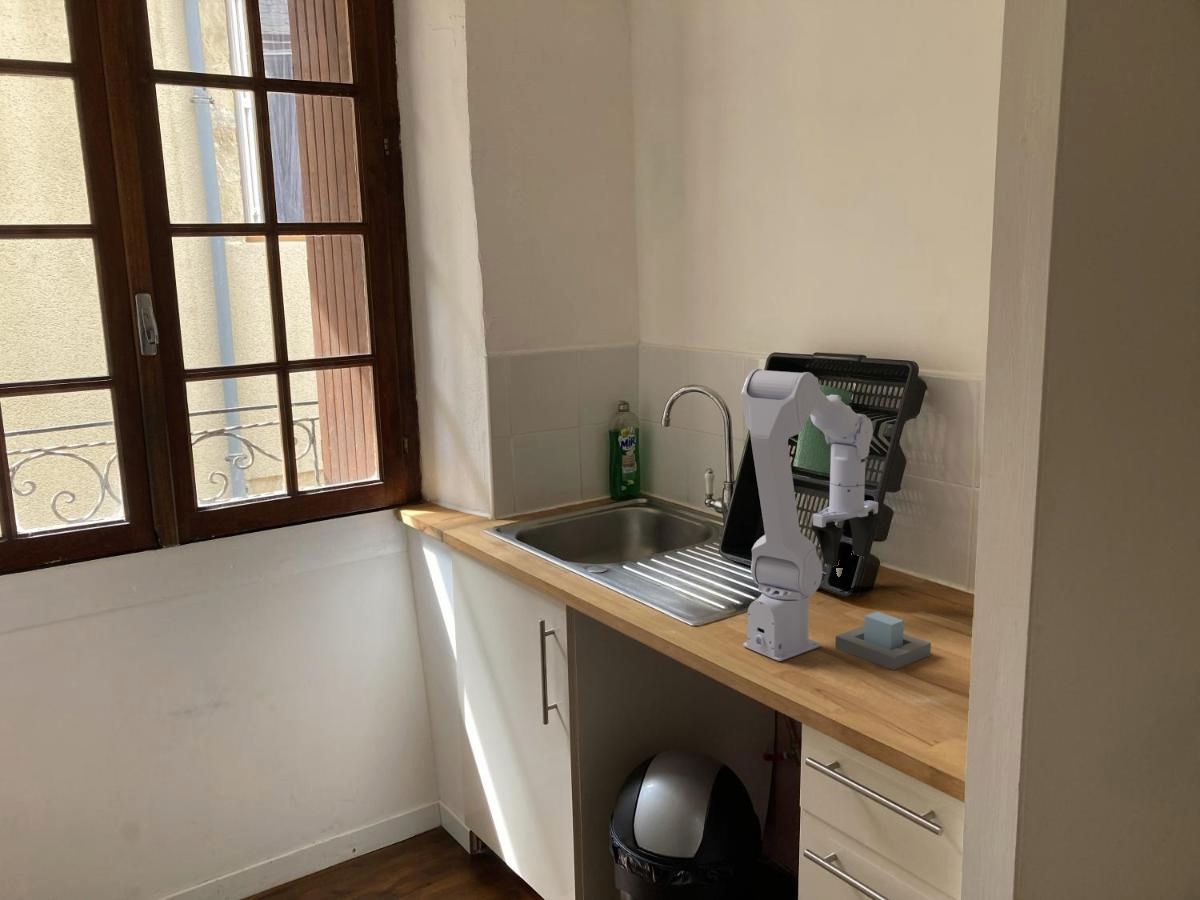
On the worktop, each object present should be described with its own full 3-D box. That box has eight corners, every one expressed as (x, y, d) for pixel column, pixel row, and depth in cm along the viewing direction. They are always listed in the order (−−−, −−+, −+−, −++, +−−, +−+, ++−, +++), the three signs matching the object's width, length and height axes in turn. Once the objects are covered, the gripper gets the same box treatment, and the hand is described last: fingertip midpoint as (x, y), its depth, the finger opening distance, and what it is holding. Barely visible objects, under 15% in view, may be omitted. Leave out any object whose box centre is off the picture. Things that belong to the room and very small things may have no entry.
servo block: (890, 656, 151) (891, 625, 150) (863, 646, 155) (864, 615, 154) (902, 651, 153) (903, 620, 152) (876, 641, 157) (877, 611, 156)
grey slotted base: (893, 670, 147) (893, 657, 147) (835, 647, 156) (835, 635, 156) (930, 655, 153) (930, 642, 152) (872, 634, 161) (872, 622, 161)
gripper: (837, 493, 161) (835, 574, 164) (893, 480, 169) (890, 557, 172) (804, 486, 167) (802, 563, 169) (860, 473, 175) (858, 547, 178)
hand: (844, 559), depth 171 cm, fingers open, 7 cm apart
